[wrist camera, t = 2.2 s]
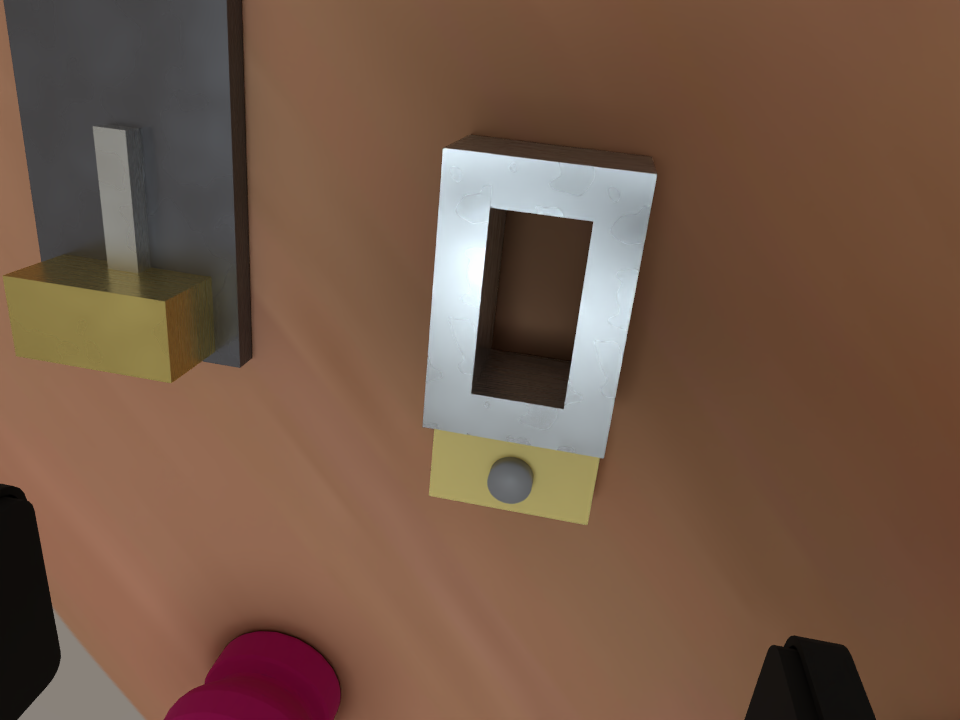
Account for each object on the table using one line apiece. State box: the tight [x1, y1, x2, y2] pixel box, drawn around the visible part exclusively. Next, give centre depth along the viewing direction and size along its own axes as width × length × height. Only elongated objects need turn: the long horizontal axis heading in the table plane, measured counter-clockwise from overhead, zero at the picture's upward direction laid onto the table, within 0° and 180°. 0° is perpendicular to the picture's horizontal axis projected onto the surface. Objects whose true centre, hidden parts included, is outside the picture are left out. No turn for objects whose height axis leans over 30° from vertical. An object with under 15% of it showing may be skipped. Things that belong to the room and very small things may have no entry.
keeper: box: [3, 0, 252, 383], centre depth 23 cm, size 8×20×5 cm, turn 174°
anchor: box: [429, 429, 600, 525], centre depth 27 cm, size 6×3×3 cm, turn 84°
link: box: [423, 135, 657, 458], centre depth 24 cm, size 6×9×4 cm, turn 174°
